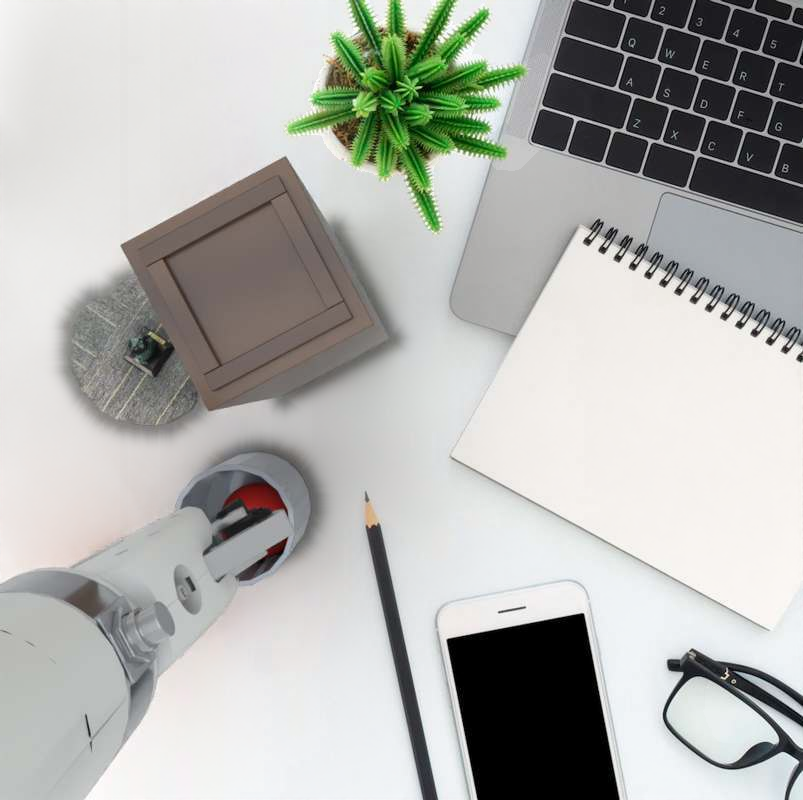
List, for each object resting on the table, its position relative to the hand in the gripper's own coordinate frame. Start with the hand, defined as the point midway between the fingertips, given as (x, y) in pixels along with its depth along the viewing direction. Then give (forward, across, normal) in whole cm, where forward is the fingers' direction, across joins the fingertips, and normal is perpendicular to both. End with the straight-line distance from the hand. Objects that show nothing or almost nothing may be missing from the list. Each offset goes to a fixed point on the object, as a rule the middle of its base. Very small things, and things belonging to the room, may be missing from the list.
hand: (173, 563), depth 47 cm
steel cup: (+22, 0, +1) cm, 22 cm away
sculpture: (+22, +2, -15) cm, 27 cm away
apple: (+21, 0, +1) cm, 21 cm away
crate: (+22, -12, -11) cm, 27 cm away
